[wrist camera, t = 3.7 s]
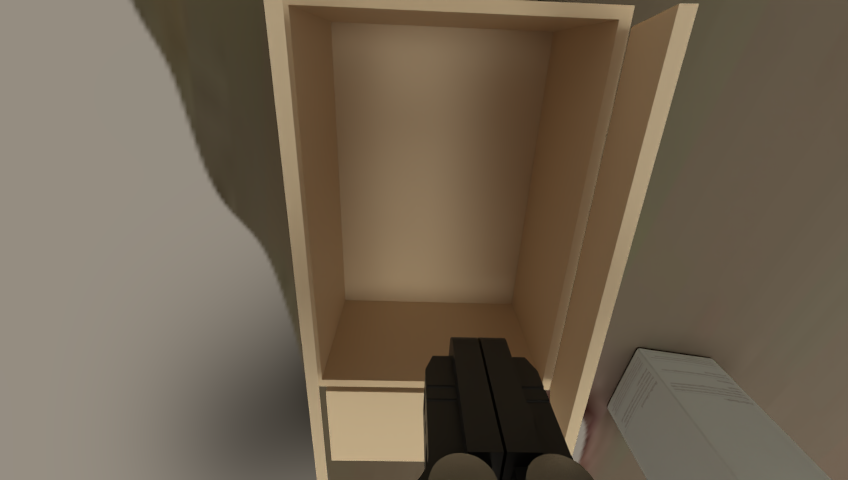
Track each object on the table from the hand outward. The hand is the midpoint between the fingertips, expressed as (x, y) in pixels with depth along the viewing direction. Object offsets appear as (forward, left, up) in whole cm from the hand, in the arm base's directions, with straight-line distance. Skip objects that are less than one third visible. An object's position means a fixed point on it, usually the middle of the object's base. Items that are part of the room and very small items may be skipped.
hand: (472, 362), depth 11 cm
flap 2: (-5, 0, -5) cm, 7 cm away
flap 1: (+6, 0, -5) cm, 8 cm away
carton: (0, 0, -18) cm, 18 cm away
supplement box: (-21, +18, -18) cm, 33 cm away
